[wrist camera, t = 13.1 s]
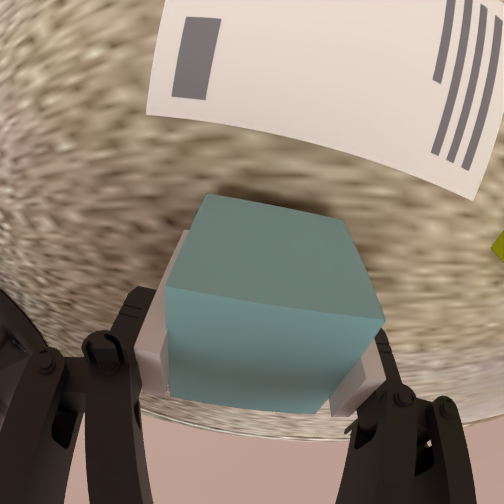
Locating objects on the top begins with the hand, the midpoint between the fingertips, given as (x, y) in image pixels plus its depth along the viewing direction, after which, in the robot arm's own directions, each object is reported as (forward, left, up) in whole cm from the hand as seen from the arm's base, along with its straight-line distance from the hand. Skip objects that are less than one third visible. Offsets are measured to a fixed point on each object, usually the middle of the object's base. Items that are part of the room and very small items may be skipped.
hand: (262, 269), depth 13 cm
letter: (-1, +12, -2) cm, 13 cm away
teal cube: (0, 0, 0) cm, 0 cm away
